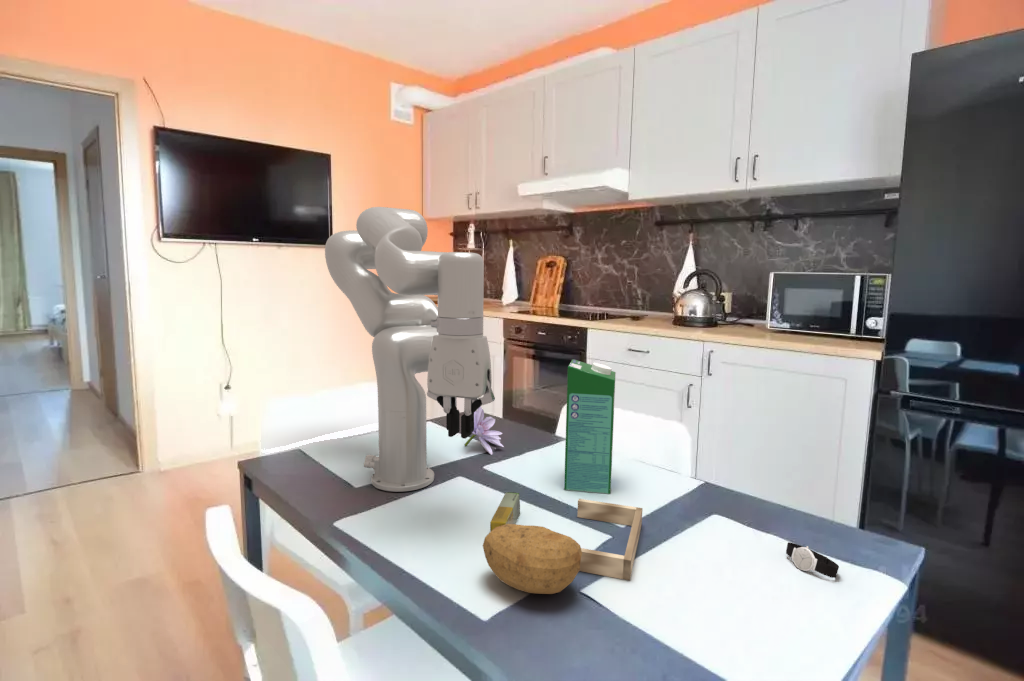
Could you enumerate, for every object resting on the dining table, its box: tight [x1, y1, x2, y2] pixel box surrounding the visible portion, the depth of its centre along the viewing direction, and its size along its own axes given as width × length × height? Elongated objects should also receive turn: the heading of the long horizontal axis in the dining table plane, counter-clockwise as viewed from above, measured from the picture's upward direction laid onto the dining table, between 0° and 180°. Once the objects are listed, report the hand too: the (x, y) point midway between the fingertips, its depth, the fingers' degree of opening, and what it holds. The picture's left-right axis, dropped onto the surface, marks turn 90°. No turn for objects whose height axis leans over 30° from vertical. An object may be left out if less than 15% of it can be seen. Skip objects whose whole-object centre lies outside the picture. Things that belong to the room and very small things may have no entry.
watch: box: [785, 541, 840, 578], centre depth 80 cm, size 8×5×4 cm, turn 24°
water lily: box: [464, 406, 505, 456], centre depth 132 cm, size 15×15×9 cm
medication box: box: [489, 491, 521, 533], centre depth 91 cm, size 12×3×4 cm, turn 169°
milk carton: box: [563, 358, 617, 495], centre depth 109 cm, size 9×9×25 cm
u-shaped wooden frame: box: [576, 498, 643, 582], centre depth 86 cm, size 11×18×3 cm, turn 161°
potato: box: [482, 523, 582, 595], centre depth 74 cm, size 10×14×8 cm
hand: (460, 434), depth 92 cm, fingers closed
